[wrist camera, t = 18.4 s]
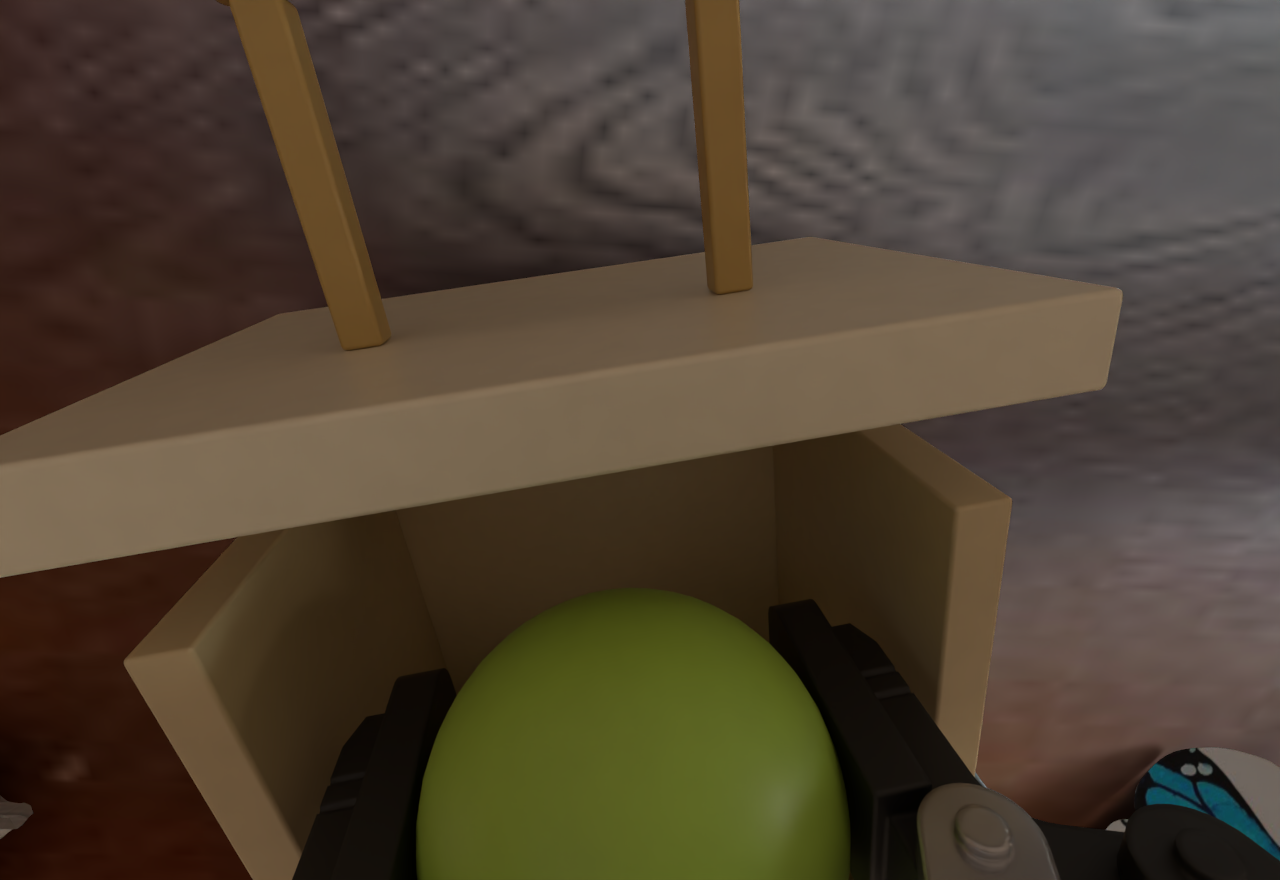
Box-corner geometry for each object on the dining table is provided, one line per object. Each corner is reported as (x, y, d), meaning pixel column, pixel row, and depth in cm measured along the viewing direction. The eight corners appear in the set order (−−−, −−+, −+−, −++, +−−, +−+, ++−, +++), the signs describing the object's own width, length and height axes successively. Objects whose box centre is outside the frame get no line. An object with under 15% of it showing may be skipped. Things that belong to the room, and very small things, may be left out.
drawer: (166, 10, 11) (-753, -424, 3) (810, -59, 12) (1286, -530, 4) (448, 786, 20) (375, 1190, 12) (817, 711, 21) (984, 1037, 13)
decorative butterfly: (1460, 826, 23) (1359, 1053, 24) (1258, 726, 30) (1183, 908, 30) (1288, 792, 21) (1181, 1045, 22) (1107, 690, 27) (1029, 890, 28)
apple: (556, 459, 9) (563, 993, 3) (825, 598, 11) (1175, 1117, 5) (397, 712, 11) (184, 1425, 4) (657, 798, 12) (761, 1397, 6)
